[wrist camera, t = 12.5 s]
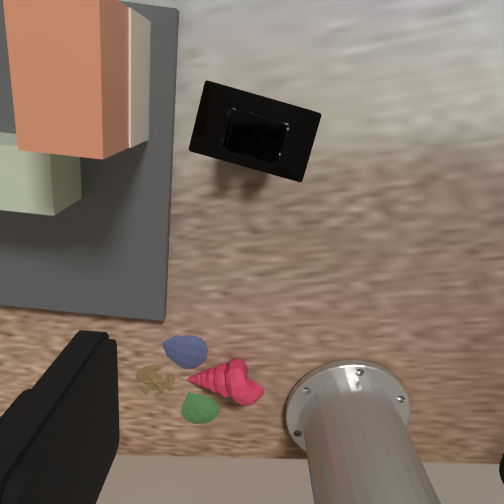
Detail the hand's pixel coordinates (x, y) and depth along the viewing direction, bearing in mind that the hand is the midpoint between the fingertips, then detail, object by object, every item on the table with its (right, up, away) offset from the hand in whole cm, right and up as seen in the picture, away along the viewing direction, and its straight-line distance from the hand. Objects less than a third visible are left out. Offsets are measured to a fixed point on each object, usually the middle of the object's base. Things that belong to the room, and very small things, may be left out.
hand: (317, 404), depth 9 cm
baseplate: (-16, +10, +24) cm, 30 cm away
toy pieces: (-7, -9, +32) cm, 34 cm away
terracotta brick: (-11, +14, +16) cm, 24 cm away
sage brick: (-19, +10, +23) cm, 31 cm away
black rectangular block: (-1, +13, +23) cm, 27 cm away
